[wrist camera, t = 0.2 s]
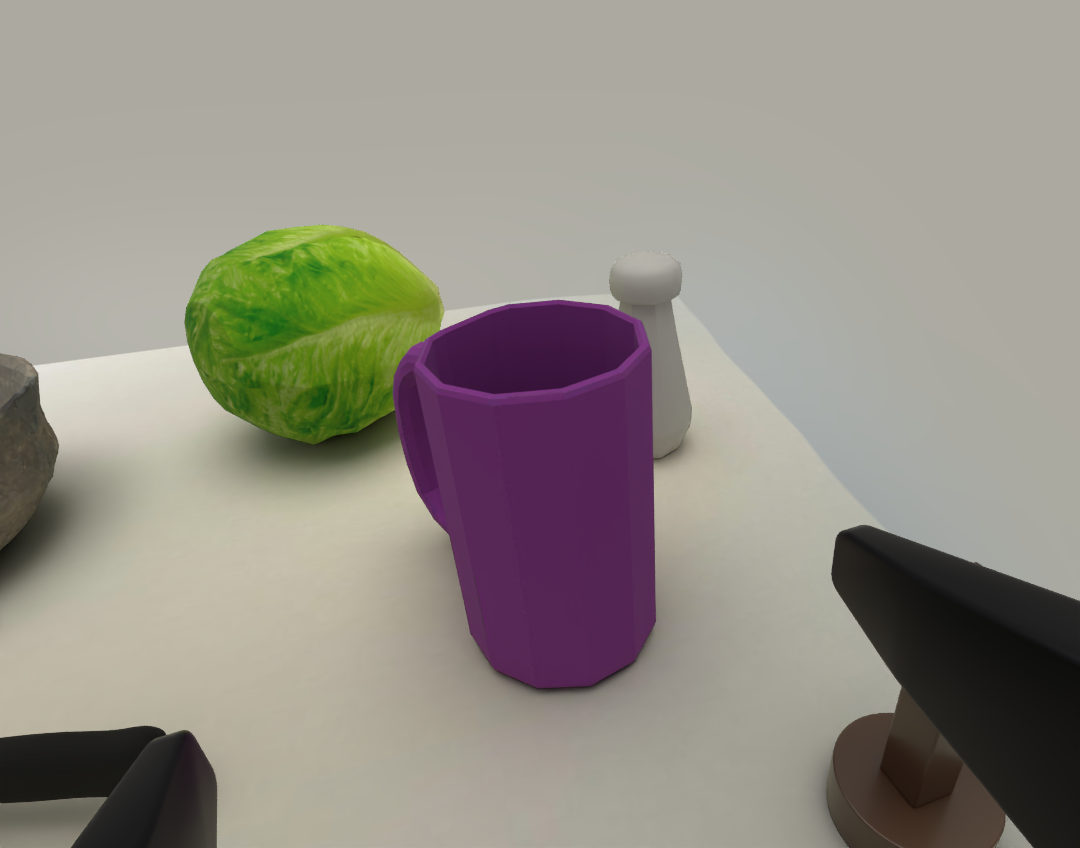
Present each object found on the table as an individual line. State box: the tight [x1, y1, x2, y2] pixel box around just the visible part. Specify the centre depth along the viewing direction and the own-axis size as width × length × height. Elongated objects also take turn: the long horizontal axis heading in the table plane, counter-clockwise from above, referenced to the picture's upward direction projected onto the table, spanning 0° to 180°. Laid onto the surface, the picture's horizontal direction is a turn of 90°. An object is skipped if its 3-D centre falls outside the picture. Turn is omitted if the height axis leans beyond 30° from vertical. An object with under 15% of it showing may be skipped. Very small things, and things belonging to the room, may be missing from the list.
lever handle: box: [826, 562, 1006, 848], centre depth 21 cm, size 5×5×11 cm
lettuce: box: [185, 225, 444, 445], centre depth 50 cm, size 17×20×15 cm
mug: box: [393, 300, 656, 688], centre depth 31 cm, size 9×16×15 cm, turn 45°
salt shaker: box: [609, 251, 692, 459], centre depth 43 cm, size 6×6×13 cm
